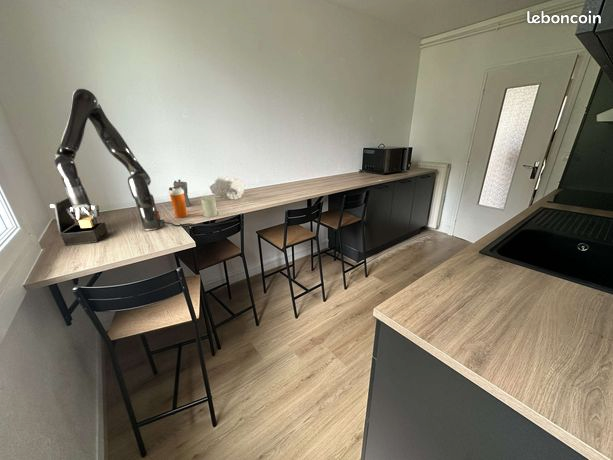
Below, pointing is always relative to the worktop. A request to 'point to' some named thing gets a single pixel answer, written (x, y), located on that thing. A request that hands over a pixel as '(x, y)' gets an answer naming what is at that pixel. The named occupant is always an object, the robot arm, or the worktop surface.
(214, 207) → the can
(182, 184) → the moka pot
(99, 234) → the dark brown box
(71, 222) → the lid
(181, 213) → the shaker bottle
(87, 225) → the sandwich
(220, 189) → the crumpled white cloth
